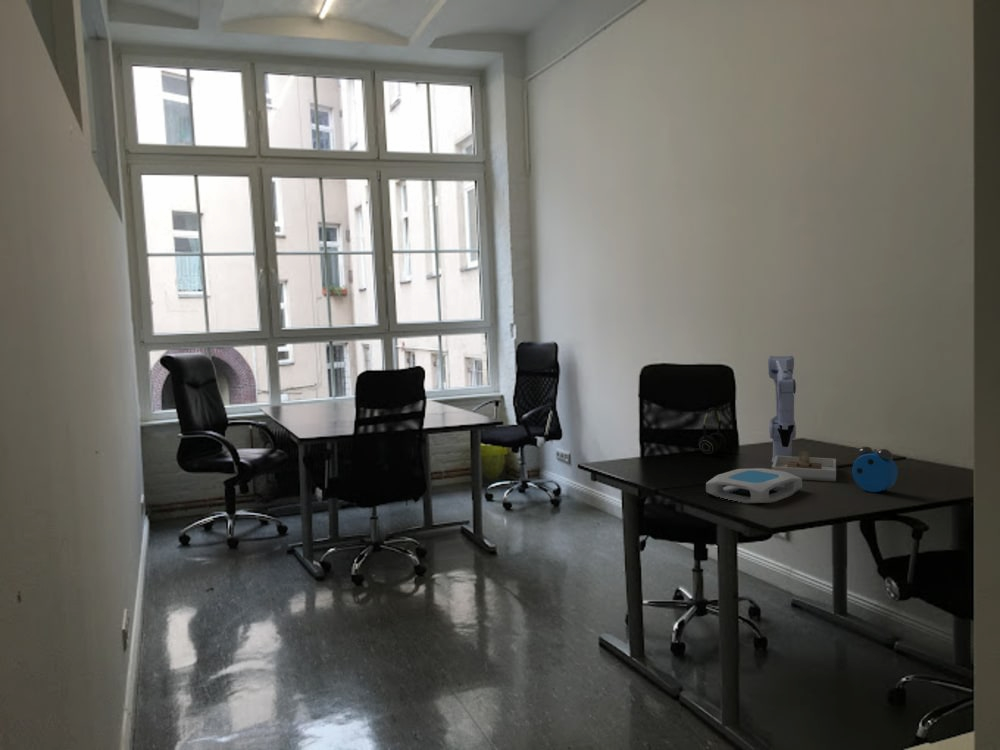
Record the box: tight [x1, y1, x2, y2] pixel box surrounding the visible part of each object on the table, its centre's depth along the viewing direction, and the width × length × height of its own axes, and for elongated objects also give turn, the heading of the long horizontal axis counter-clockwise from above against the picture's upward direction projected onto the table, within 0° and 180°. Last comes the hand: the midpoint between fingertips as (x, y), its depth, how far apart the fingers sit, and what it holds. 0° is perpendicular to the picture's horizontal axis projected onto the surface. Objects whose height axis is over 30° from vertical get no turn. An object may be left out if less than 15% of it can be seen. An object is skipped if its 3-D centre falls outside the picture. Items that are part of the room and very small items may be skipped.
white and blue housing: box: [705, 467, 803, 504], centre depth 270 cm, size 21×28×6 cm
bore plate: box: [787, 461, 822, 469], centre depth 298 cm, size 12×12×2 cm
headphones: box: [698, 407, 727, 455], centre depth 338 cm, size 9×15×20 cm, turn 138°
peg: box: [798, 450, 810, 467], centre depth 298 cm, size 4×4×7 cm
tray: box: [771, 456, 837, 482], centre depth 298 cm, size 22×22×4 cm
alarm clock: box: [851, 446, 899, 493], centre depth 268 cm, size 13×6×15 cm, turn 38°
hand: (785, 444), depth 305 cm, fingers open, 7 cm apart
